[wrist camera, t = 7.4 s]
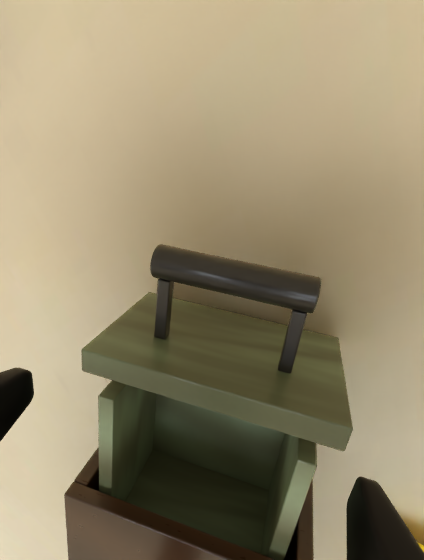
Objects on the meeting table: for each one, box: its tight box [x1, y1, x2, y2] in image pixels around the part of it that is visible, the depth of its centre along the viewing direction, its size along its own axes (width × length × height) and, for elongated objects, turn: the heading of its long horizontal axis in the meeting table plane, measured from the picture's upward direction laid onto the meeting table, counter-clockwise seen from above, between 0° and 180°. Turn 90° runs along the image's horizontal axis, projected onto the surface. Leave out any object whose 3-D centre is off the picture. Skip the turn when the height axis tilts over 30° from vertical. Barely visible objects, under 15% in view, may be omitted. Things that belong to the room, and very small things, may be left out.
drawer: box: [82, 244, 353, 560], centre depth 18 cm, size 17×11×7 cm
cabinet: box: [64, 447, 313, 560], centre depth 22 cm, size 14×13×9 cm
